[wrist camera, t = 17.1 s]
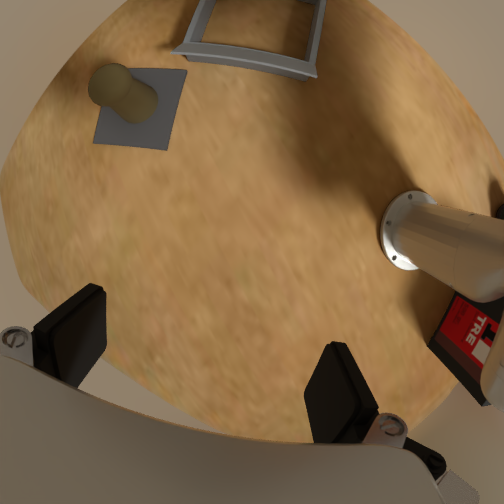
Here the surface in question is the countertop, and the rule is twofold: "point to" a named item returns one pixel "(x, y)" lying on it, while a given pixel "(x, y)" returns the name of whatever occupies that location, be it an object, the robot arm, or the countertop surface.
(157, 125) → the rubber mat
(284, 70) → the carton
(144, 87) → the cork
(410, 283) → the countertop surface
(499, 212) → the mate gourd
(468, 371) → the cleaning product box
